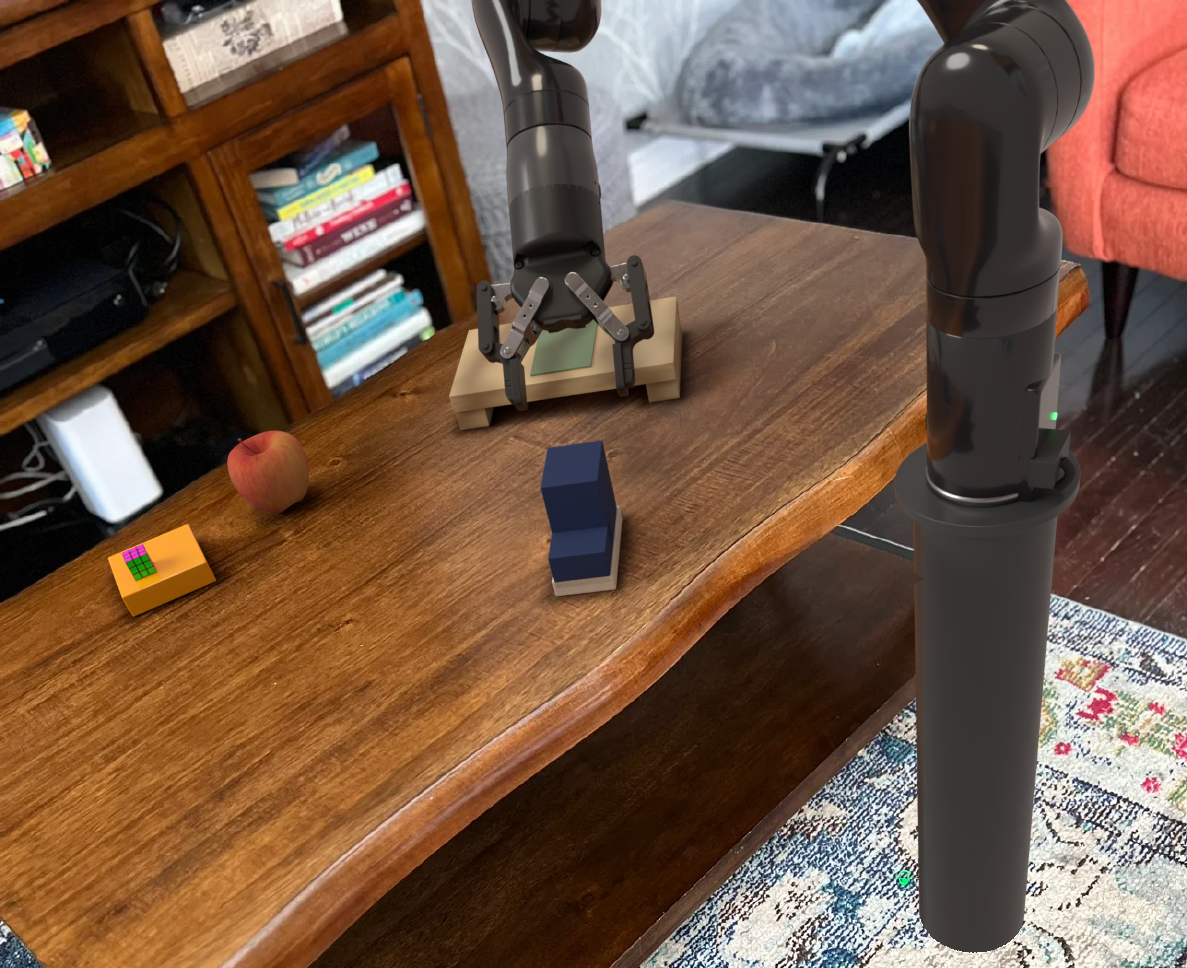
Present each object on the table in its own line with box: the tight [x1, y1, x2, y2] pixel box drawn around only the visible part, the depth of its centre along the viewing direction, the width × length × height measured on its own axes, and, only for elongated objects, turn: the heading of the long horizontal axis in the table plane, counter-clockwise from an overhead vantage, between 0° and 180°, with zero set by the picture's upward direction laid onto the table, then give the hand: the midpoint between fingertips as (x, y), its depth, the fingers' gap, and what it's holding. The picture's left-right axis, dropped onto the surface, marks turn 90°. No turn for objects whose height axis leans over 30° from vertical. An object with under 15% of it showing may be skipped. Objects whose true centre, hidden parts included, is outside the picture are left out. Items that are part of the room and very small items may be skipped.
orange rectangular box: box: [107, 523, 217, 618], centre depth 112 cm, size 8×8×4 cm
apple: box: [227, 430, 310, 515], centre depth 116 cm, size 7×7×8 cm
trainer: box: [540, 439, 623, 597], centre depth 100 cm, size 10×5×8 cm, turn 176°
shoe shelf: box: [448, 296, 683, 431], centre depth 123 cm, size 22×14×4 cm, turn 86°
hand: (571, 401), depth 100 cm, fingers open, 8 cm apart
